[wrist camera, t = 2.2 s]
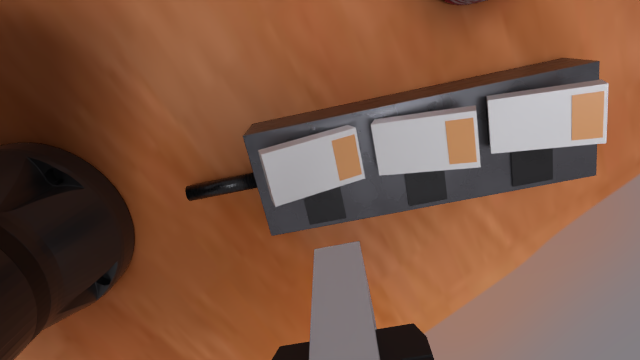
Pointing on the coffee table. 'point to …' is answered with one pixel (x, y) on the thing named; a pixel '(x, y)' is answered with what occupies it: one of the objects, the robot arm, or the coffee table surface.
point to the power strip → (420, 187)
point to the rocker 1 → (312, 164)
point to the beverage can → (463, 1)
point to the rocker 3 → (548, 117)
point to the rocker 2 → (427, 141)
